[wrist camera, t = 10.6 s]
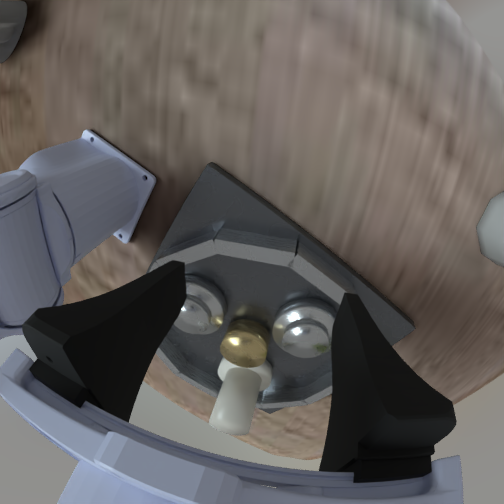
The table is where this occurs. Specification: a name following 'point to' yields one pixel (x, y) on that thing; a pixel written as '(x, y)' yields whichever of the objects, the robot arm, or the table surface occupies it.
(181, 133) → the table surface
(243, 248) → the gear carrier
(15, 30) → the coffee mug
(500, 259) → the flask
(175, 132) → the table surface
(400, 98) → the table surface
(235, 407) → the white mushroom peg
